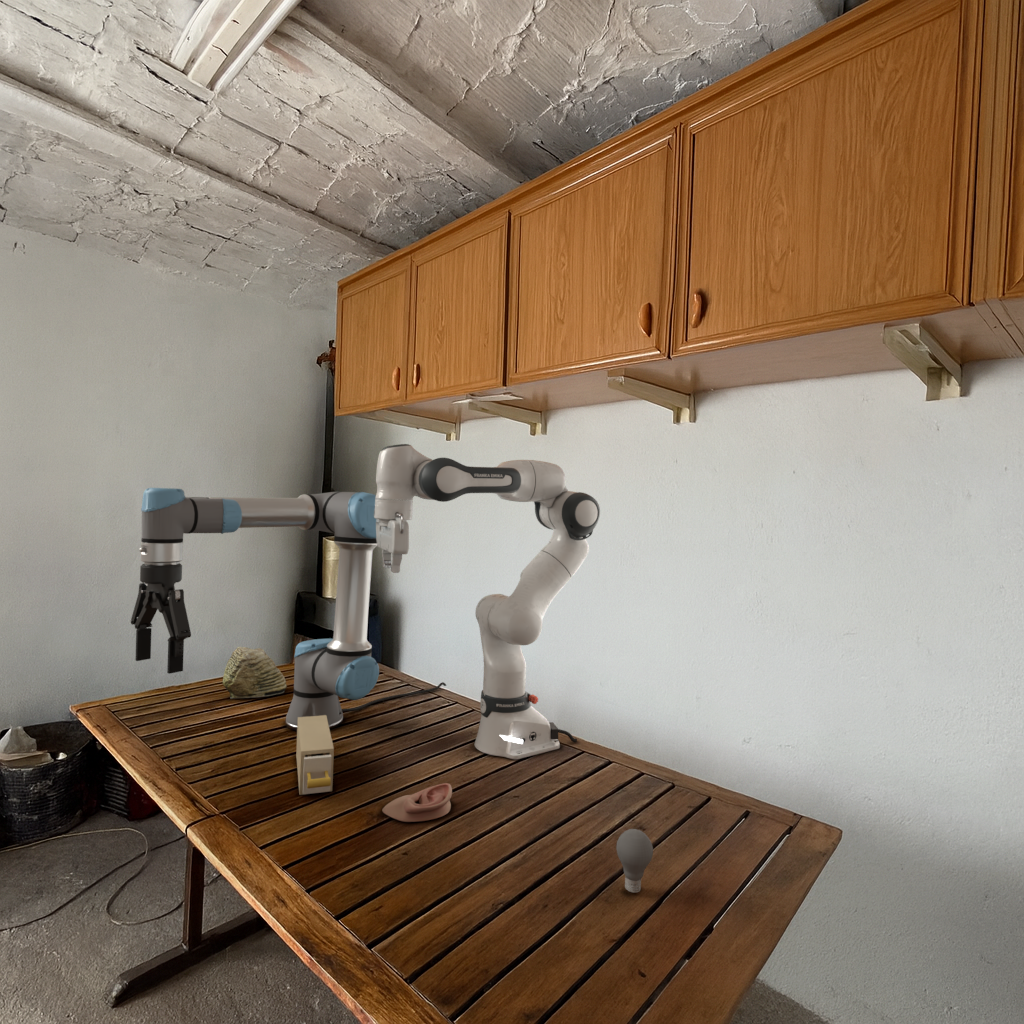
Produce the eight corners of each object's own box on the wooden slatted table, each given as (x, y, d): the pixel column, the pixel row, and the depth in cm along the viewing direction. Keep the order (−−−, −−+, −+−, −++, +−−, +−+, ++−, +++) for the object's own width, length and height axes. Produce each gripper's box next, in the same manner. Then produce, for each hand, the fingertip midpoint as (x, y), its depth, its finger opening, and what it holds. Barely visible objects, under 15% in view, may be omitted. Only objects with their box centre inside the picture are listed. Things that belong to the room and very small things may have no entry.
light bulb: (610, 879, 108) (613, 822, 108) (644, 879, 109) (647, 822, 109) (619, 902, 102) (622, 840, 102) (655, 901, 103) (658, 840, 103)
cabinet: (332, 791, 137) (333, 748, 136) (299, 795, 134) (301, 751, 134) (324, 752, 157) (326, 715, 156) (296, 755, 154) (297, 717, 154)
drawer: (332, 803, 129) (333, 767, 129) (304, 807, 127) (305, 770, 127) (323, 753, 153) (324, 723, 153) (299, 756, 152) (300, 725, 151)
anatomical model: (376, 797, 126) (398, 774, 137) (375, 817, 126) (397, 792, 137) (440, 807, 123) (457, 782, 134) (439, 827, 123) (456, 800, 134)
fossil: (218, 695, 195) (220, 647, 195) (278, 685, 208) (279, 640, 207) (228, 703, 189) (230, 653, 188) (289, 692, 201) (290, 645, 201)
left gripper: (114, 558, 134) (111, 658, 135) (173, 570, 120) (170, 681, 120) (151, 556, 140) (148, 651, 141) (211, 567, 126) (208, 673, 126)
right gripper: (417, 514, 142) (414, 575, 142) (397, 511, 161) (395, 565, 161) (389, 513, 140) (386, 575, 140) (372, 510, 159) (370, 565, 159)
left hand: (158, 665), depth 130 cm, fingers open, 13 cm apart
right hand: (391, 570), depth 151 cm, fingers open, 8 cm apart
